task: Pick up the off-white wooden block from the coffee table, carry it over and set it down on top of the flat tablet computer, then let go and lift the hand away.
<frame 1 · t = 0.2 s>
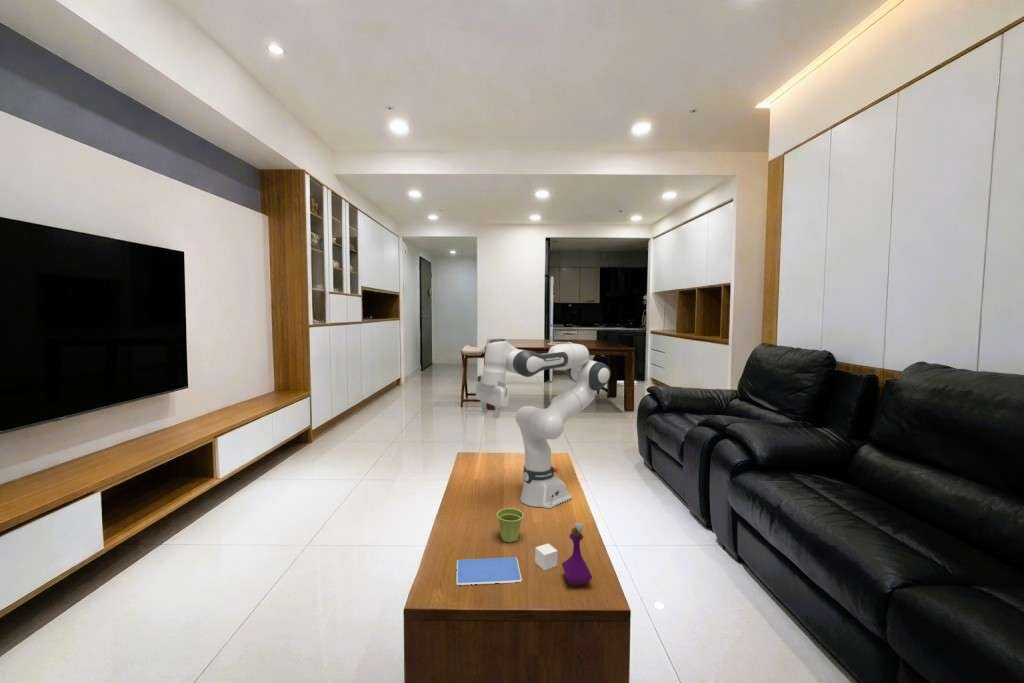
hand: (489, 415, 167), 39 cm above the table, tool pointing down, fingers open, 8 cm apart
tablet computer: (488, 574, 131), on the table
perfume bottle: (576, 581, 127), on the table
cream block: (546, 564, 135), on the table
plant pot: (509, 538, 150), on the table
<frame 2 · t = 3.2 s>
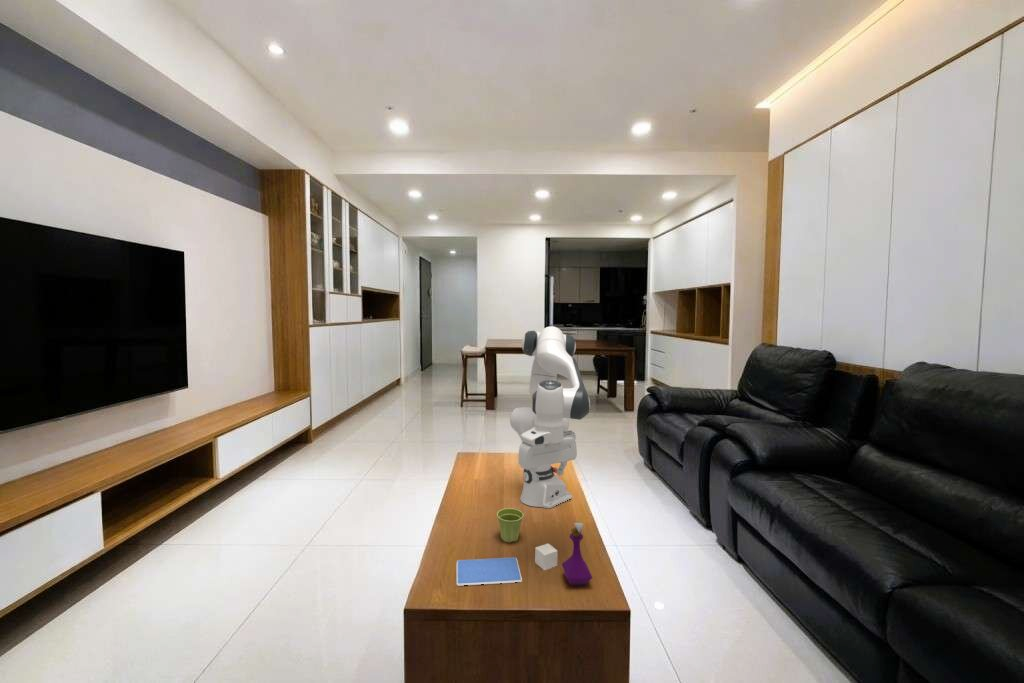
hand: (548, 477, 133), 28 cm above the table, tool pointing down, fingers open, 8 cm apart
nothing on the table moved.
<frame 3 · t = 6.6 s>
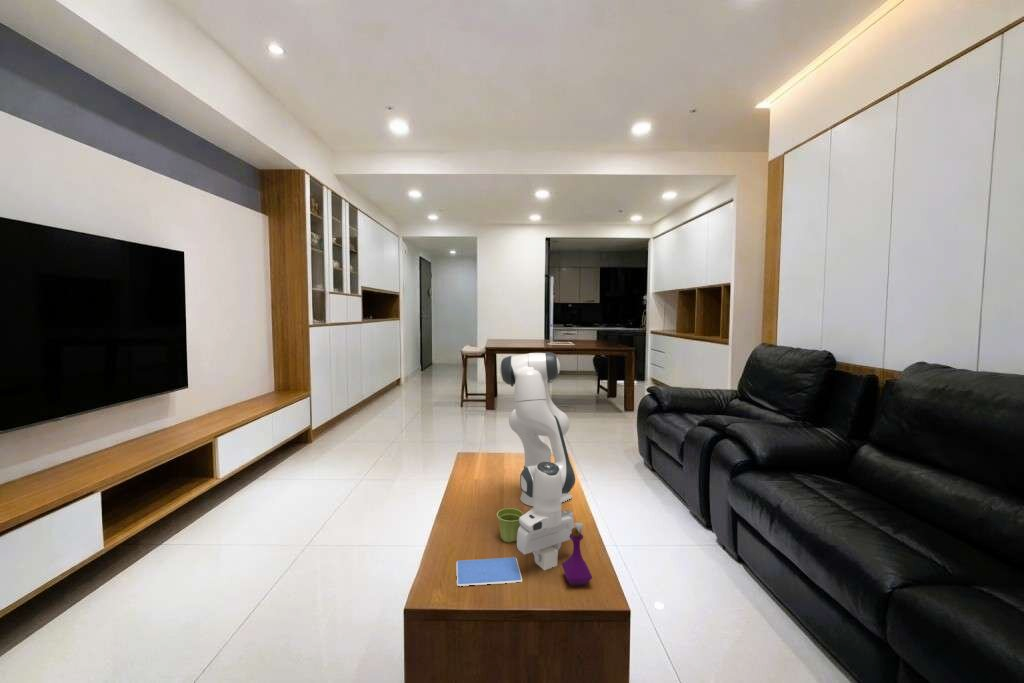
hand: (546, 558, 135), 2 cm above the table, tool pointing down, fingers closed on cream block, 5 cm apart
cream block: (546, 564, 135), on the table, touching gripper
everything else where it was.
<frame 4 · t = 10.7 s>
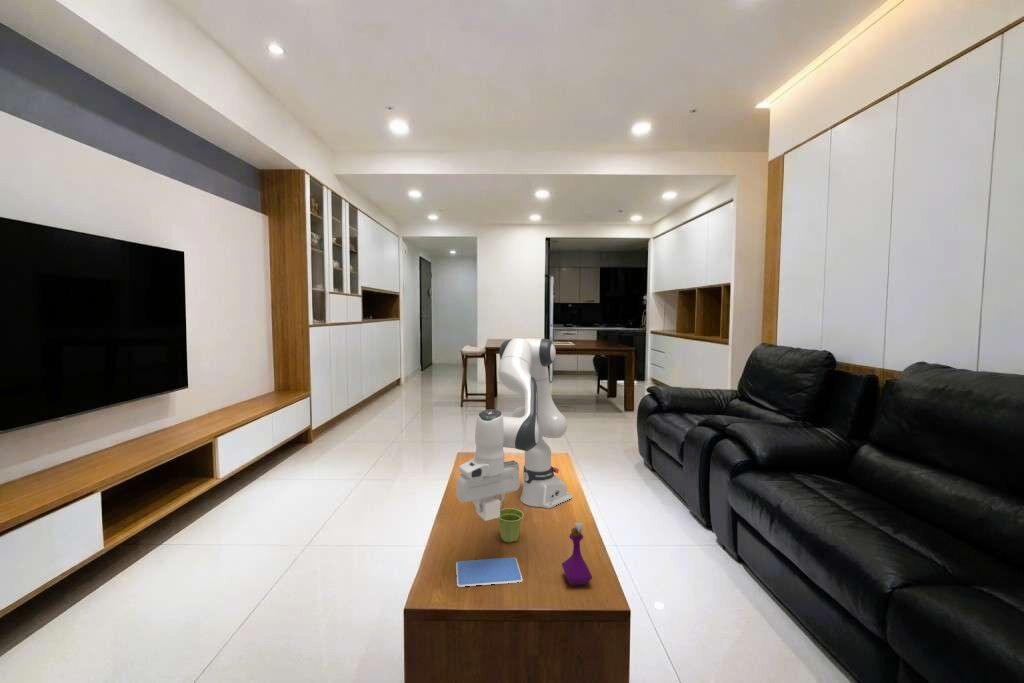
hand: (488, 509, 130), 19 cm above the table, tool pointing down, fingers closed on cream block, 5 cm apart
cream block: (488, 515, 130), point 18 cm above the table, touching gripper
everything else where it was.
when the fingers open (4 cm above the table, at t = 14.8 s): cream block drops 2 cm, point 1 cm above the table.
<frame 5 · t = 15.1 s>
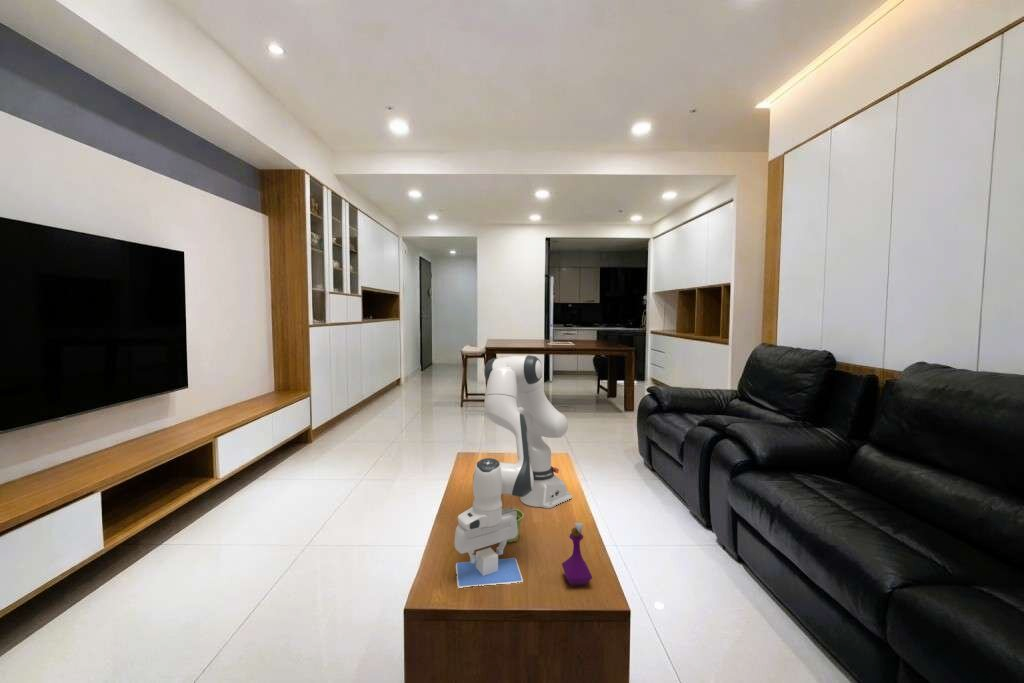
hand: (486, 558, 131), 4 cm above the table, tool pointing down, fingers open, 8 cm apart
cream block: (486, 569, 131), point 1 cm above the table
everything else where it was.
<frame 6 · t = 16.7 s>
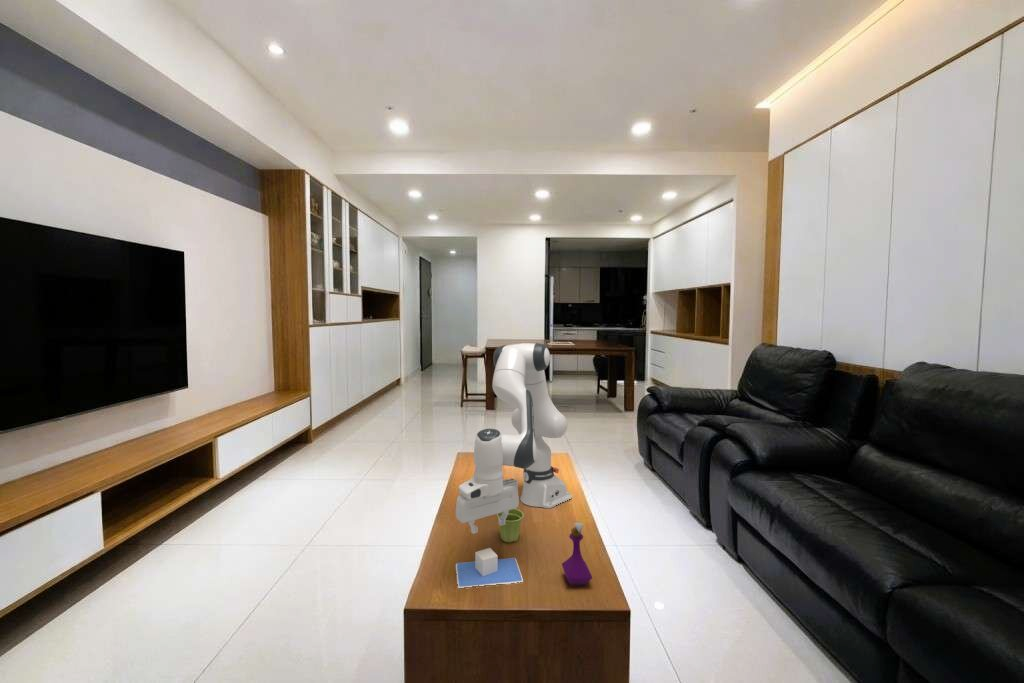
hand: (488, 528, 130), 13 cm above the table, tool pointing down, fingers open, 8 cm apart
tablet computer: (488, 576, 130), on the table, touching cream block
cream block: (486, 569, 131), point 1 cm above the table, touching tablet computer
everything else where it was.
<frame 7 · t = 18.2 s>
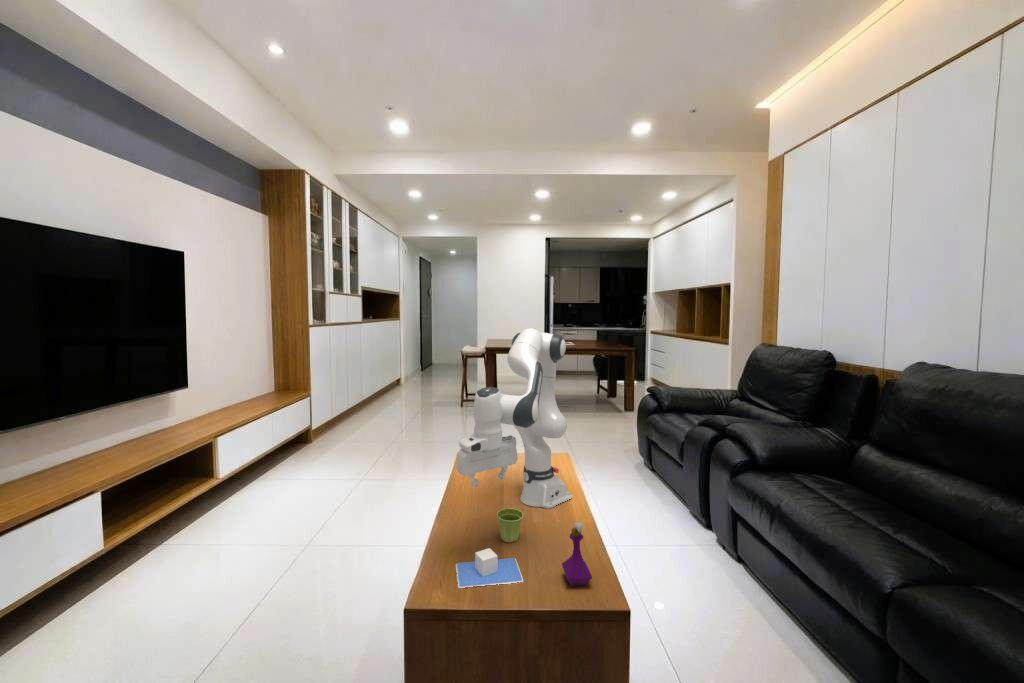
hand: (488, 482, 136), 25 cm above the table, tool pointing down, fingers open, 8 cm apart
nothing on the table moved.
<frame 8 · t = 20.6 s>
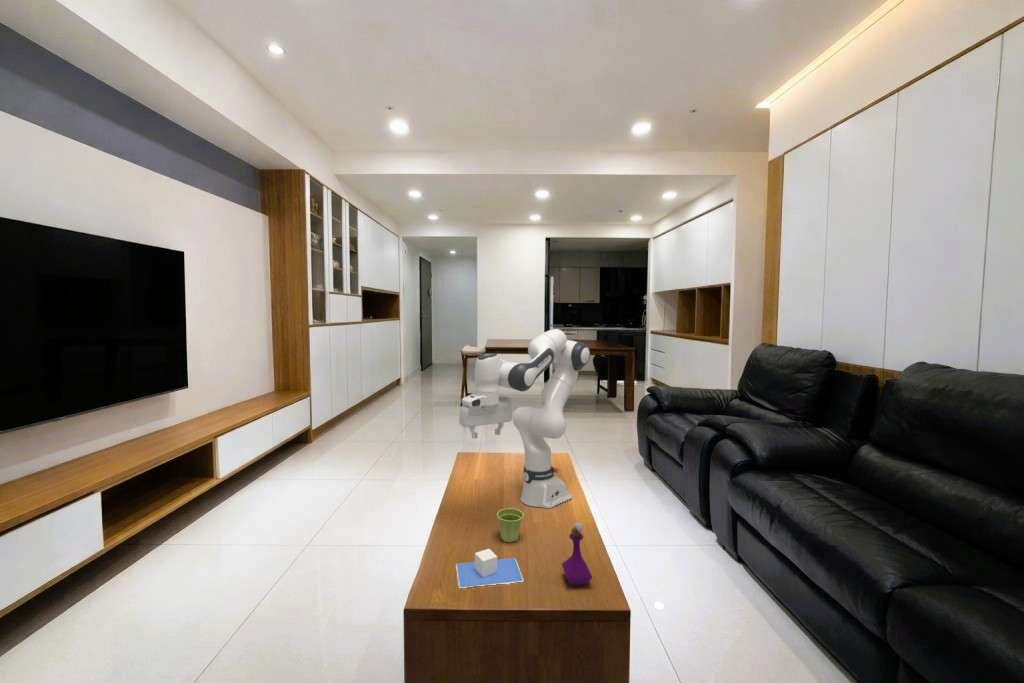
hand: (486, 436, 155), 34 cm above the table, tool pointing down, fingers open, 8 cm apart
nothing on the table moved.
at the end: cream block inside the target area on the tablet computer (1.1 cm from its centre), point 1.5 cm above the tablet computer's base; cream block tilted 1°; the gripper is holding nothing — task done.
